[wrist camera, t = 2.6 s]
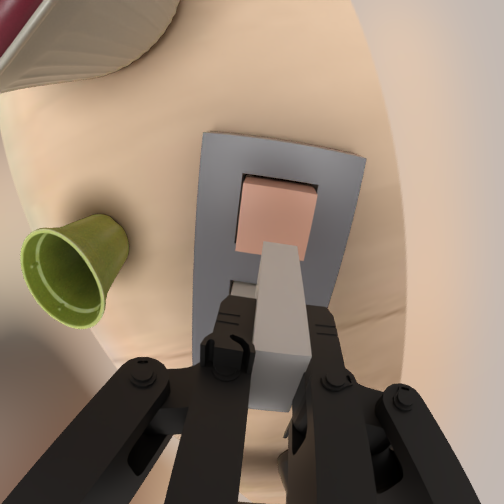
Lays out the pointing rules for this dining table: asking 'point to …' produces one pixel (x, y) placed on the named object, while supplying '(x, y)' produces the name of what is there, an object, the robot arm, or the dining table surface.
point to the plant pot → (74, 268)
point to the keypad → (228, 209)
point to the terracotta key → (275, 214)
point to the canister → (75, 38)
